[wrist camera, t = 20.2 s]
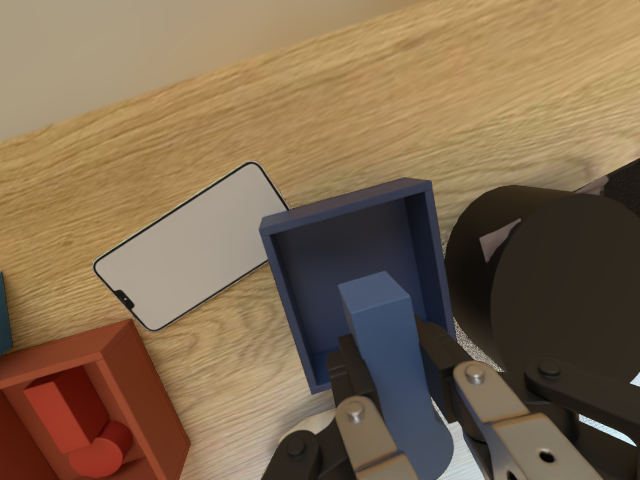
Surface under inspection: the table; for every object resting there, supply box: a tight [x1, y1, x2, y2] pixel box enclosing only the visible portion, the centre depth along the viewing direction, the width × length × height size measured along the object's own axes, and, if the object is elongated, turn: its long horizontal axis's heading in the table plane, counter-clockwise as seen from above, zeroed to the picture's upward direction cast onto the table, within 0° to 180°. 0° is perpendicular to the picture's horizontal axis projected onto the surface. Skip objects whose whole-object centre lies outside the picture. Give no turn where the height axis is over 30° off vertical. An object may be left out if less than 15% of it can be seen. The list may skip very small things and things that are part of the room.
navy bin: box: [258, 177, 457, 395], centre depth 24 cm, size 13×12×4 cm
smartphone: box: [92, 161, 290, 332], centre depth 24 cm, size 7×1×15 cm
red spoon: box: [23, 365, 133, 478], centre depth 25 cm, size 10×4×3 cm, turn 15°
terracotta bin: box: [0, 319, 191, 480], centre depth 24 cm, size 13×12×4 cm
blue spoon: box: [337, 271, 454, 480], centre depth 13 cm, size 10×4×3 cm, turn 15°
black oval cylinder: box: [444, 158, 640, 383], centre depth 25 cm, size 14×18×8 cm
